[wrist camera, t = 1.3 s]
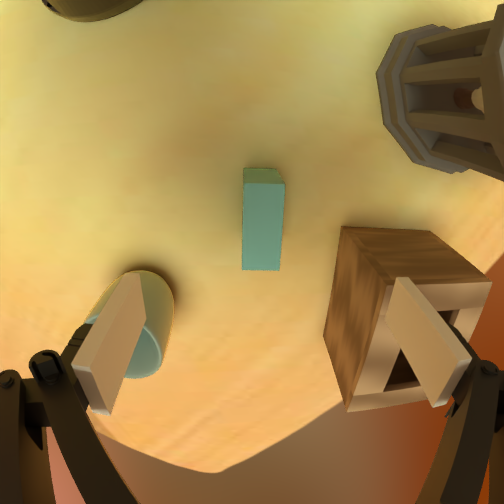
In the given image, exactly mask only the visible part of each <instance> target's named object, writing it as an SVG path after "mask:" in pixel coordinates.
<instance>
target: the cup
mask: <svg viewBox="0 0 504 504" xmlns="http://www.w3.org/2000/svg"><path fill="white" fill-rule="evenodd" d="M127 273H139V274H140V281H141V288H142V294H143V301H144V307H145V313H146V318H147V319H146V321H145V324H144V326H143V329H142V331H141V334H140V336H139V339H138V341H137V344H136V346H135V349H134V352H133V354H132V357H131V359H130V362H129V365H128V367H127V370H126V373H125V376H124V378H133V379H136V378H144V377H148V376H150V375H152V374H154V373H155V372H157V371H158V370H159V368H160V366H161V365H162V363H163V360H164V357H165V354H166V350H167V346H168V343H169V339H170V335H171V331H172V327H173V322H174V313H175V306H174V299H173V294H172V292H171V289H170V287H169V286H168V284H167V283H166V282H165V280H164V279H163V278H162V277H160V276H159V275H158V274H156V273H154V272H150V271H146V270H135V271H130V272H127ZM123 276H124V274H123V275H121V276H120V277H118V278H117V279H115V280H114V281H113V282H112V283H111V284H110V285H109V286H108V287H107V289H106V290H105V291H104V292H103V294H102V295H101V296H100V298H99V299H98V300H97V302H96V303H95V305H94V306H93V308H92V309H91V311H90V312H89V314H88V316H87V317H86V319H85V321H84V323H88V324H94V323H95V321H96V319H97V317H98V316H99V314H100V312H101V311H102V309H103V308H104V306H105V304H106V303H107V301H108V299H109V298H110V296H111V295H112V293H113V291H114V290H115V288H116V287H117V285H118V283H119V282H120V280H121V279H122V277H123ZM84 323H83V324H84Z"/></svg>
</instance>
